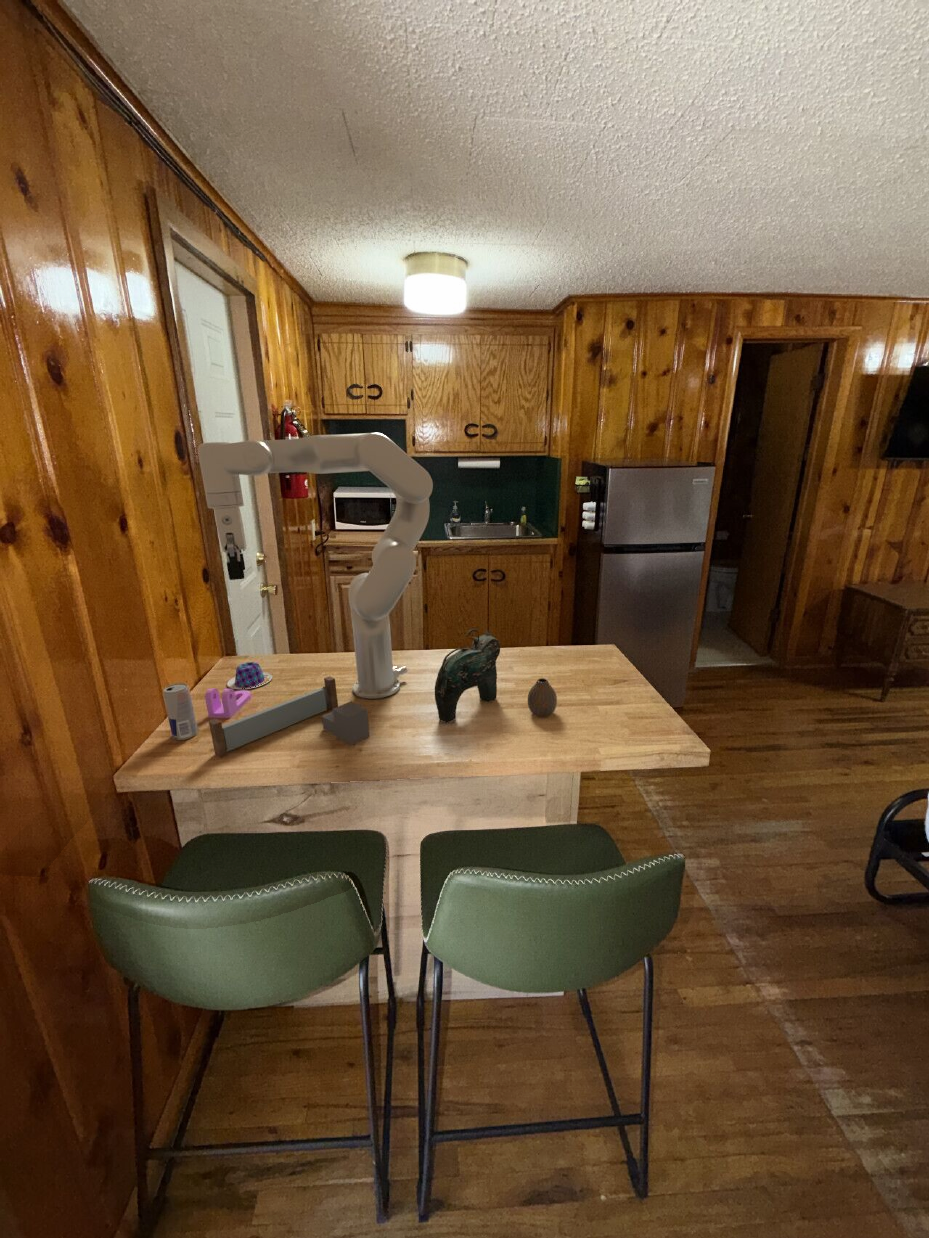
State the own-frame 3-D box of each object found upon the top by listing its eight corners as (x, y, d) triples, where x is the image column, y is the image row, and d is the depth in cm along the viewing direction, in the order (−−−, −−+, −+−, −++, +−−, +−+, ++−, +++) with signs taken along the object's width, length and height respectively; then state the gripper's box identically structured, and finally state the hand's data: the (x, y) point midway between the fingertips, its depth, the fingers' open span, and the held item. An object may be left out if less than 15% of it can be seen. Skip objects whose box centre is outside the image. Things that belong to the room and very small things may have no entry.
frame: (332, 704, 137) (329, 676, 134) (338, 707, 135) (335, 678, 133) (215, 754, 116) (208, 721, 114) (219, 758, 115) (213, 724, 112)
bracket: (230, 718, 132) (225, 692, 130) (209, 718, 133) (204, 692, 130) (255, 695, 144) (251, 671, 142) (235, 694, 145) (231, 670, 143)
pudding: (251, 671, 160) (248, 655, 159) (281, 677, 155) (279, 660, 154) (218, 687, 150) (214, 670, 148) (249, 694, 145) (246, 676, 143)
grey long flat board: (327, 707, 135) (325, 685, 133) (330, 709, 134) (327, 687, 133) (225, 750, 117) (220, 725, 115) (227, 752, 117) (223, 727, 115)
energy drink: (178, 729, 127) (168, 683, 123) (201, 728, 127) (192, 681, 124) (168, 741, 122) (157, 693, 118) (192, 739, 122) (182, 691, 119)
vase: (558, 709, 131) (559, 676, 129) (553, 722, 125) (554, 688, 122) (530, 705, 133) (531, 672, 131) (524, 718, 127) (524, 684, 125)
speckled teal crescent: (488, 691, 142) (486, 619, 136) (506, 698, 137) (506, 624, 131) (431, 718, 129) (427, 640, 122) (450, 728, 124) (446, 646, 118)
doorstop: (341, 721, 129) (338, 694, 127) (369, 736, 122) (367, 708, 120) (323, 729, 125) (320, 702, 123) (351, 745, 118) (348, 717, 116)
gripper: (242, 502, 114) (254, 580, 119) (243, 496, 130) (254, 565, 135) (203, 504, 112) (218, 584, 117) (209, 498, 127) (222, 569, 133)
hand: (237, 574), depth 126 cm, fingers open, 9 cm apart
